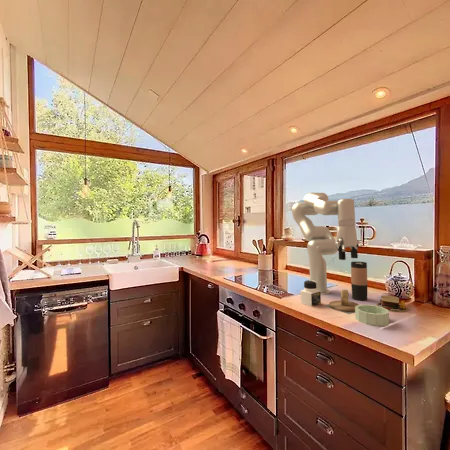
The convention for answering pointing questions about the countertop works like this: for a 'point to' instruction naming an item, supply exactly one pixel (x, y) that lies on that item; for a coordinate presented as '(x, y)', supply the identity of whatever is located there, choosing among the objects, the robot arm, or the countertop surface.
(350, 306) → the lid
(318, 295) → the medicine bottle
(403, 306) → the toy sandwich meal
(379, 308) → the bowl
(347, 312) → the mat
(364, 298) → the travel mug
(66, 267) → the countertop surface
